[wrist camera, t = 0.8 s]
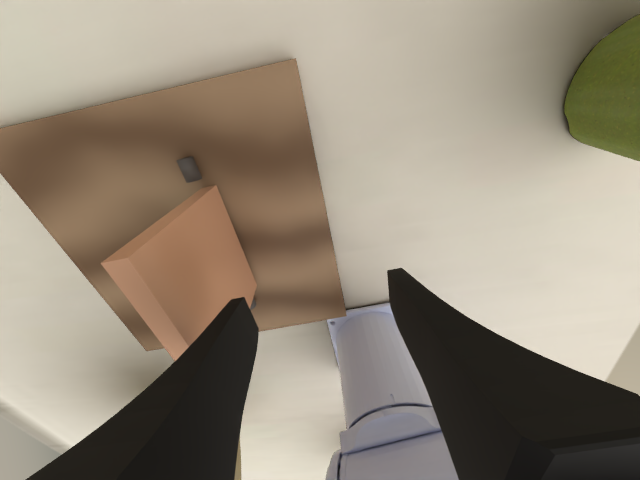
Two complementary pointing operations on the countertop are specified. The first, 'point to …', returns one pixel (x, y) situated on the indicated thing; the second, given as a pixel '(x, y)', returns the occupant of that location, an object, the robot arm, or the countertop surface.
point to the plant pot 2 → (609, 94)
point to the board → (188, 185)
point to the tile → (184, 270)
